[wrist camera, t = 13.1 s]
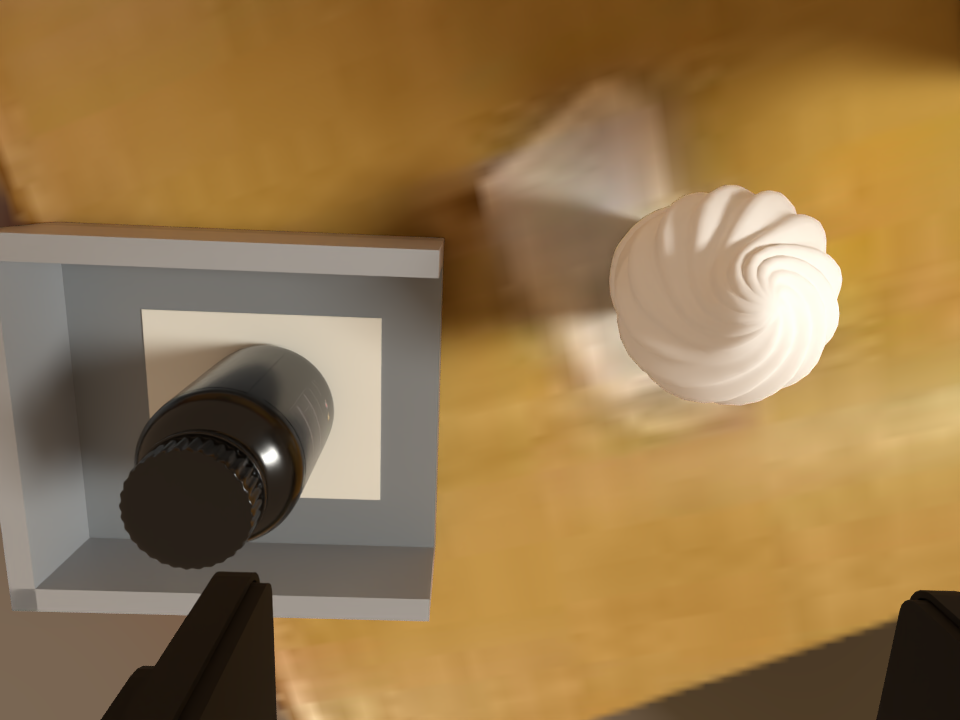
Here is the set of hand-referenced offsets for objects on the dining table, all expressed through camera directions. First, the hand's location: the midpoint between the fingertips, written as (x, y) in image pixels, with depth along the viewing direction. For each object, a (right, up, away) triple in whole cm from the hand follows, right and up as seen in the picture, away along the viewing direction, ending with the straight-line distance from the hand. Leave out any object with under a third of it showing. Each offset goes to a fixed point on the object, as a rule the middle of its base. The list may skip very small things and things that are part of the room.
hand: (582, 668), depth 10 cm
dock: (-14, +3, +28) cm, 32 cm away
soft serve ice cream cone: (+8, +10, +27) cm, 30 cm away
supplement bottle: (-12, +2, +26) cm, 29 cm away
